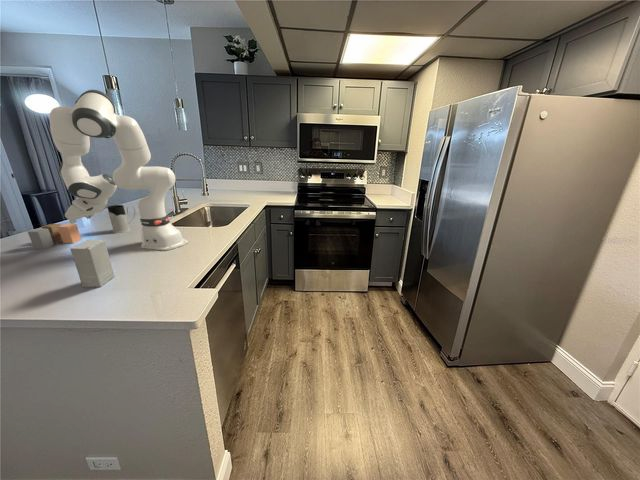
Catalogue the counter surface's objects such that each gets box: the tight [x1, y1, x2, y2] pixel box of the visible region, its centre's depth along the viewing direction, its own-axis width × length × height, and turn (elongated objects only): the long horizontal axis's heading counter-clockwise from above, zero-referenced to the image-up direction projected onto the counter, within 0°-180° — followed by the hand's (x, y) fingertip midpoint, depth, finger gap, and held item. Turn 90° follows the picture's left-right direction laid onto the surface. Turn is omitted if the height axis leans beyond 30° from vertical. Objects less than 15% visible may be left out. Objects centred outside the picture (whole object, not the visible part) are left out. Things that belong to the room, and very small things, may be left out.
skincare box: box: [69, 239, 115, 288], centre depth 94 cm, size 8×7×16 cm
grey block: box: [27, 227, 55, 250], centre depth 128 cm, size 5×5×9 cm
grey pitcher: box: [106, 204, 137, 234], centre depth 154 cm, size 9×14×15 cm, turn 152°
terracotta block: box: [58, 223, 82, 244], centre depth 136 cm, size 5×5×9 cm
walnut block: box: [41, 223, 63, 244], centre depth 136 cm, size 5×5×9 cm
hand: (79, 220), depth 132 cm, fingers open, 8 cm apart
